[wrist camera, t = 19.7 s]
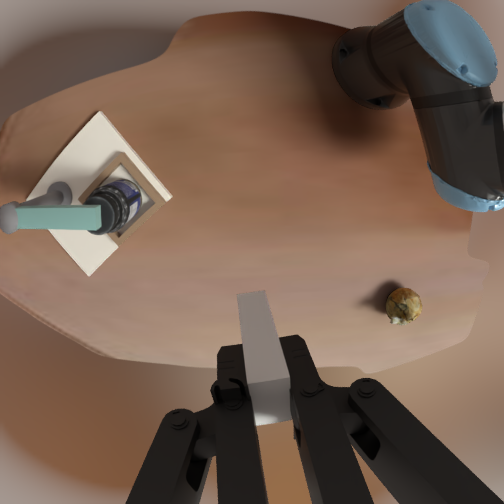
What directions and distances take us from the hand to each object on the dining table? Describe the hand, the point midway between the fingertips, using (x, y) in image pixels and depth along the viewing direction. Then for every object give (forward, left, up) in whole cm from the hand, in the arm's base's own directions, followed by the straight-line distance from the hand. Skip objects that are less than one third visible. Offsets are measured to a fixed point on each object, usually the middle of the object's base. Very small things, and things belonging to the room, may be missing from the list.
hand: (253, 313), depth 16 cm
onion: (-15, +35, -30) cm, 48 cm away
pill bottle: (+11, -12, -29) cm, 33 cm away
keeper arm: (+15, -16, -16) cm, 27 cm away
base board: (+15, -16, -30) cm, 37 cm away
